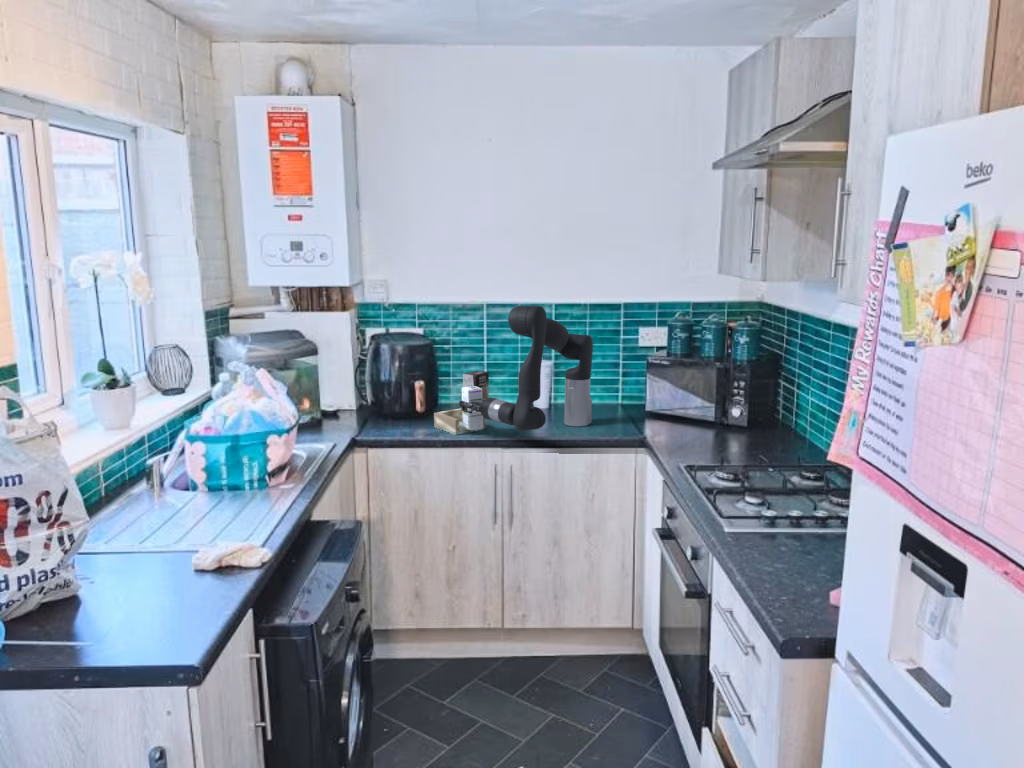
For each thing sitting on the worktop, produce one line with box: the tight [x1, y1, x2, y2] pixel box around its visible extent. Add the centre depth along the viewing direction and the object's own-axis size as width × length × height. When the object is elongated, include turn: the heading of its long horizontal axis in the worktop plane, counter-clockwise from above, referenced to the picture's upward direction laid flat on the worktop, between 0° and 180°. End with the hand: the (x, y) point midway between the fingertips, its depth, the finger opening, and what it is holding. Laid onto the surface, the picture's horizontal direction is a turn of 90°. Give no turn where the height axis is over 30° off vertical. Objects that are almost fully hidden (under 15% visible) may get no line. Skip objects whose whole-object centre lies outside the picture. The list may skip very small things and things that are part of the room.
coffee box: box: [462, 370, 490, 399], centre depth 297 cm, size 9×6×16 cm
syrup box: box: [461, 386, 483, 430], centre depth 267 cm, size 6×6×14 cm
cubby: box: [433, 407, 487, 436], centre depth 275 cm, size 13×14×6 cm
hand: (468, 402), depth 269 cm, fingers closed on syrup box, 6 cm apart
